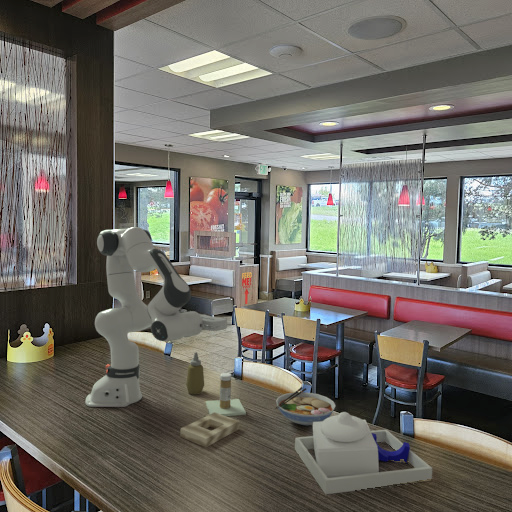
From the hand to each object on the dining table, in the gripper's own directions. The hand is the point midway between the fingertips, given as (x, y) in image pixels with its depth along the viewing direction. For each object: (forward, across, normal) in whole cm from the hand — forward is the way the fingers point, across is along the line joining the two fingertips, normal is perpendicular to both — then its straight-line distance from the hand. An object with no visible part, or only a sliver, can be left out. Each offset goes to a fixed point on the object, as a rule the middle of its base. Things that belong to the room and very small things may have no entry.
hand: (216, 318), depth 175 cm
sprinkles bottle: (+6, -1, +37) cm, 38 cm away
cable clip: (+8, -67, +38) cm, 77 cm away
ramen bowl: (+17, -32, +38) cm, 53 cm away
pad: (+6, -1, +38) cm, 39 cm away
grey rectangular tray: (0, -61, +38) cm, 72 cm away
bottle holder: (-14, -10, +38) cm, 42 cm away
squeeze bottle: (+12, +21, +38) cm, 45 cm away
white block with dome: (-3, -57, +37) cm, 68 cm away
